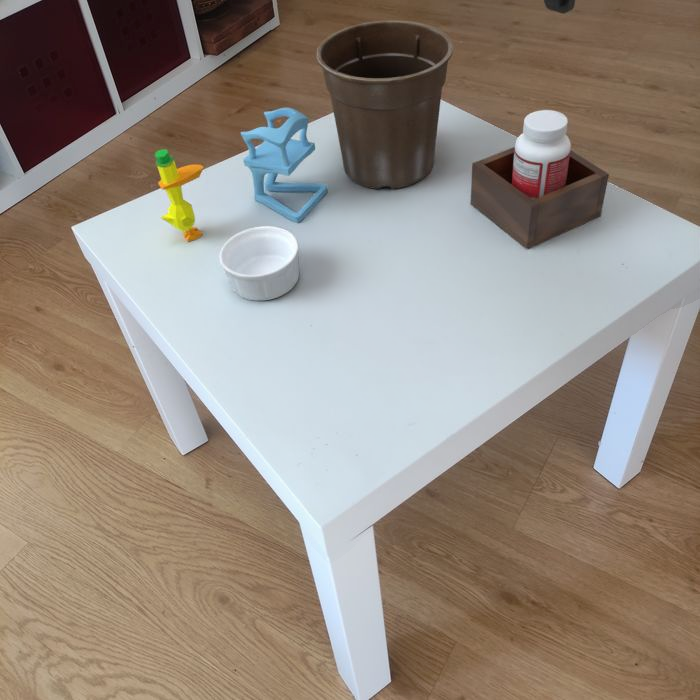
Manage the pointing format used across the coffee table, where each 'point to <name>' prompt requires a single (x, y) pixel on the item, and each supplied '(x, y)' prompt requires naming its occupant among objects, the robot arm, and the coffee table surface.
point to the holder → (544, 212)
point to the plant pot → (386, 98)
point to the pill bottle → (541, 154)
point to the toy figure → (178, 193)
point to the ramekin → (261, 262)
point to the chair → (281, 161)
